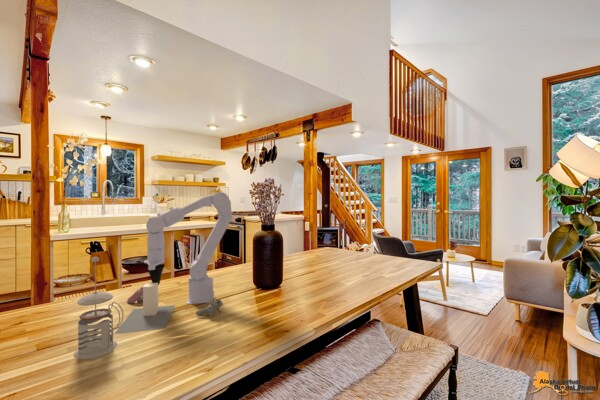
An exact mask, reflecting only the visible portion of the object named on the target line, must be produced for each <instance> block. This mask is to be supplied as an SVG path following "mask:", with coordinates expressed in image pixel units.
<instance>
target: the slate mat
mask: <svg viewBox="0 0 600 400" xmlns="http://www.w3.org/2000/svg"><path fill="white" fill-rule="evenodd" d="M175 307H176V304H175V305H165V306H164V305H163V306H158V312H157V314H156V315H150V316H143V307H142V308H133V309H132V310H131V312H130V313H129V315H127V316H126V318H125V320H124V321H122V323H121V325H119V326H118V327H117V330H116V331H115V333H114V332H113V335H117V334H126V333H135V332H136V333H137V332H144V331H153V330H154V331H155V330H163V329H164V330H165V329H166V327H167V326H168V323H169V320H170V319H171V317H172V314H173V312H174V309H175Z"/></svg>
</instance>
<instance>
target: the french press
mask: <svg viewBox="0 0 600 400" xmlns="http://www.w3.org/2000/svg"><path fill="white" fill-rule="evenodd" d="M90 262H92V263H94V292H91V293H89V294H85V295H84V296H81V298H79V299H78V300H77V301H76V304H77V305H79V306H94V309H91V310H88V311H85V312H83V313H81V314H79V316H78V317H79V321H78V322H77V333H78V334H77V339H78V340H77V345H78V348H77V349H76V350H75V352H73V357H74V359H78V360H90V359H95V358H98V357H101V356H104V355H106V354H109V353H111V352H112V351H113V350H115V349H116V348H117V347H118V343H117V342H116V340H114V331H115V330H116V329H118V328H119V327H120V326H121V325H122V323H123V322H124V321H123V320H124V309H123V307H122V306H121V305H120V304H119V303H117V302H115V301H112V302H111V303H110V304H109V305H107V306H108V307H107V308H105V307H104V308H103V307H102V308H97V305H101V304H104V303H107V302H109V301H111V300H112V299H113V298H114V295H113V294H112V293H109V292H108V291H107V292H106V291H97V262H100V257H98V256H93V257H92V258H91V260H90ZM114 304H115V305H117V306H118V307H119V308H120V310H121V312H120V311H119V308H118V307H117V306H115V305H114ZM110 306H111V307H110ZM113 308H114V309H115V310H116V311H117V313H118V323H117V324H116V326H115V327H114V316H113V314H112V309H113ZM121 313H122V314H121ZM121 315H122V318H121ZM105 318H107V319H105ZM102 319H103V320H102ZM100 320H101V321H100ZM99 321H100V322H99ZM94 323H95V324H94Z"/></svg>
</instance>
